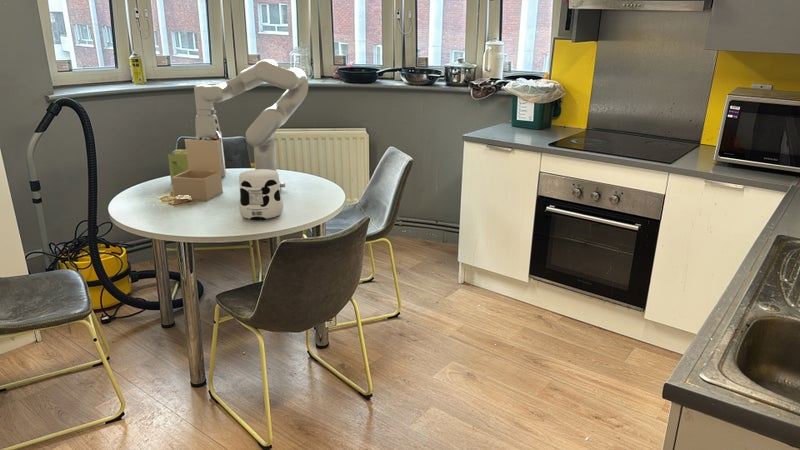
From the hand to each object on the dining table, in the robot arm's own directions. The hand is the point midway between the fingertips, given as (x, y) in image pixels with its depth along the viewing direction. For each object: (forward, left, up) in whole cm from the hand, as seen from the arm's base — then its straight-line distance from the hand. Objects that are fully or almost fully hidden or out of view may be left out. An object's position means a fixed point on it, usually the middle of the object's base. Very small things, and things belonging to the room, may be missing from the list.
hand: (209, 152), depth 281 cm
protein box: (+16, -7, -18) cm, 25 cm away
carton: (0, +13, -17) cm, 22 cm away
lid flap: (0, +6, 0) cm, 6 cm away
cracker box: (+10, -24, -18) cm, 32 cm away
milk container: (-41, +35, -18) cm, 57 cm away
